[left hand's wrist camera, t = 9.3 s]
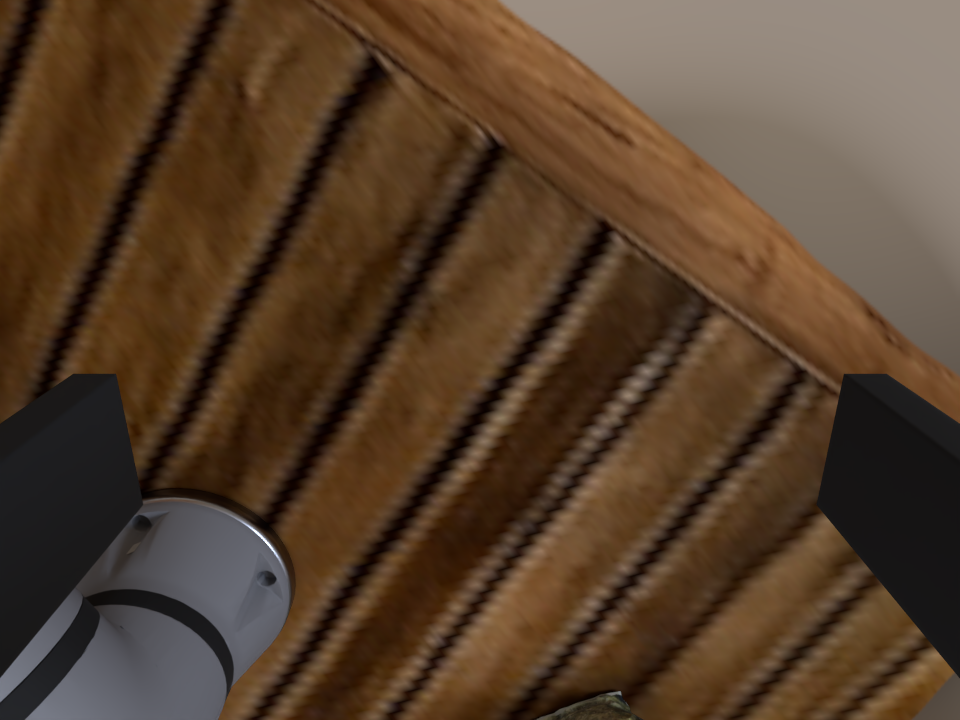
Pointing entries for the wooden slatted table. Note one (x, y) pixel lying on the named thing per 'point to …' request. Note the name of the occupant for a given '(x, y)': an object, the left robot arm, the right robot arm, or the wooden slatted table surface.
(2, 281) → the wooden slatted table surface
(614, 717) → the fossil
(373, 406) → the wooden slatted table surface
